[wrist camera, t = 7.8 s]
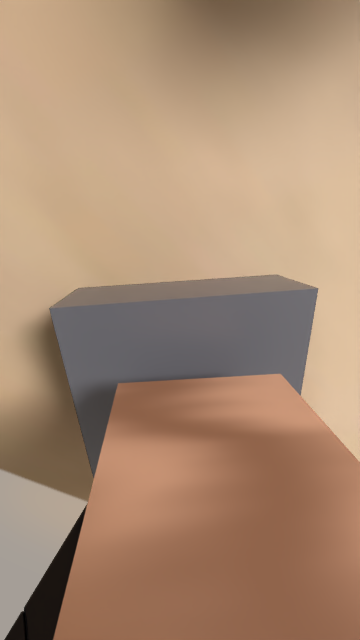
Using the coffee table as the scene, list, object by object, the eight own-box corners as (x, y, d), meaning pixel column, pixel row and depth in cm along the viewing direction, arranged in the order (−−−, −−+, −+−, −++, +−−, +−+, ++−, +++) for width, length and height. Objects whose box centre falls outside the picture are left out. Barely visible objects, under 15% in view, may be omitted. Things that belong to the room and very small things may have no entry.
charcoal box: (111, 437, 17) (98, 496, 13) (80, 286, 13) (49, 308, 9) (259, 420, 17) (288, 470, 14) (273, 273, 13) (318, 288, 10)
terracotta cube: (131, 496, 10) (100, 816, 5) (118, 383, 8) (34, 715, 3) (261, 483, 11) (374, 752, 5) (280, 373, 9) (509, 628, 3)
